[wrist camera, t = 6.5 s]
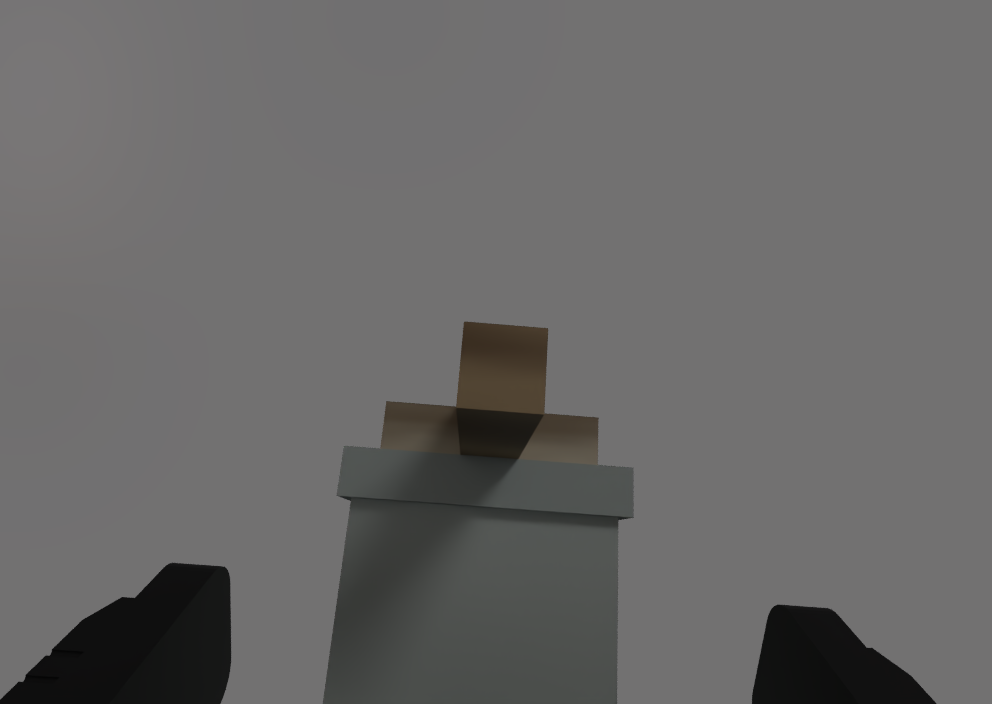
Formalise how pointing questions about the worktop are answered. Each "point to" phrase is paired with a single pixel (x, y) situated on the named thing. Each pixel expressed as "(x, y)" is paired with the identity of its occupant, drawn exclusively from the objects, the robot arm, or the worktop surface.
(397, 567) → the tall grey lidded box
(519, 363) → the paddle
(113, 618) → the robot arm
